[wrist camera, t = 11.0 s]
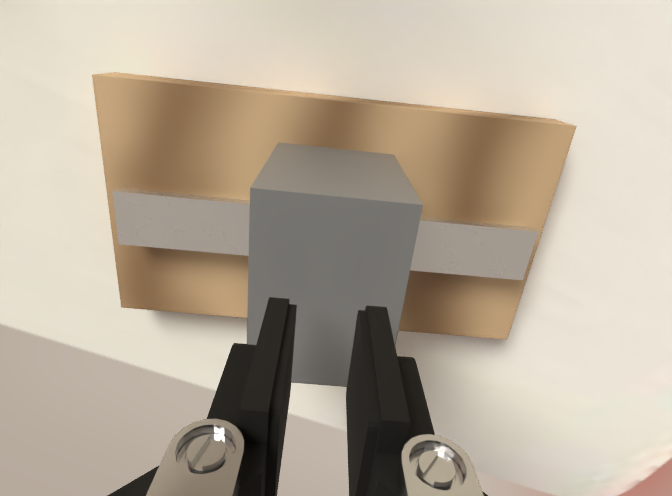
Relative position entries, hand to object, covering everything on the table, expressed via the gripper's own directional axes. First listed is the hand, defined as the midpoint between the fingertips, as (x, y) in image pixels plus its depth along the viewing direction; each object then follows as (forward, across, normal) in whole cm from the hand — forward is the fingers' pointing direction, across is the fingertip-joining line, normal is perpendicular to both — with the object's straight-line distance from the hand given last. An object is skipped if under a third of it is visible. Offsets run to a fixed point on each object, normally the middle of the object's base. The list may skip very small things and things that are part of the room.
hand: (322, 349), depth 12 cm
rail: (+9, 0, 0) cm, 9 cm away
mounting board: (+11, 0, 0) cm, 11 cm away
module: (+9, 0, 0) cm, 9 cm away
